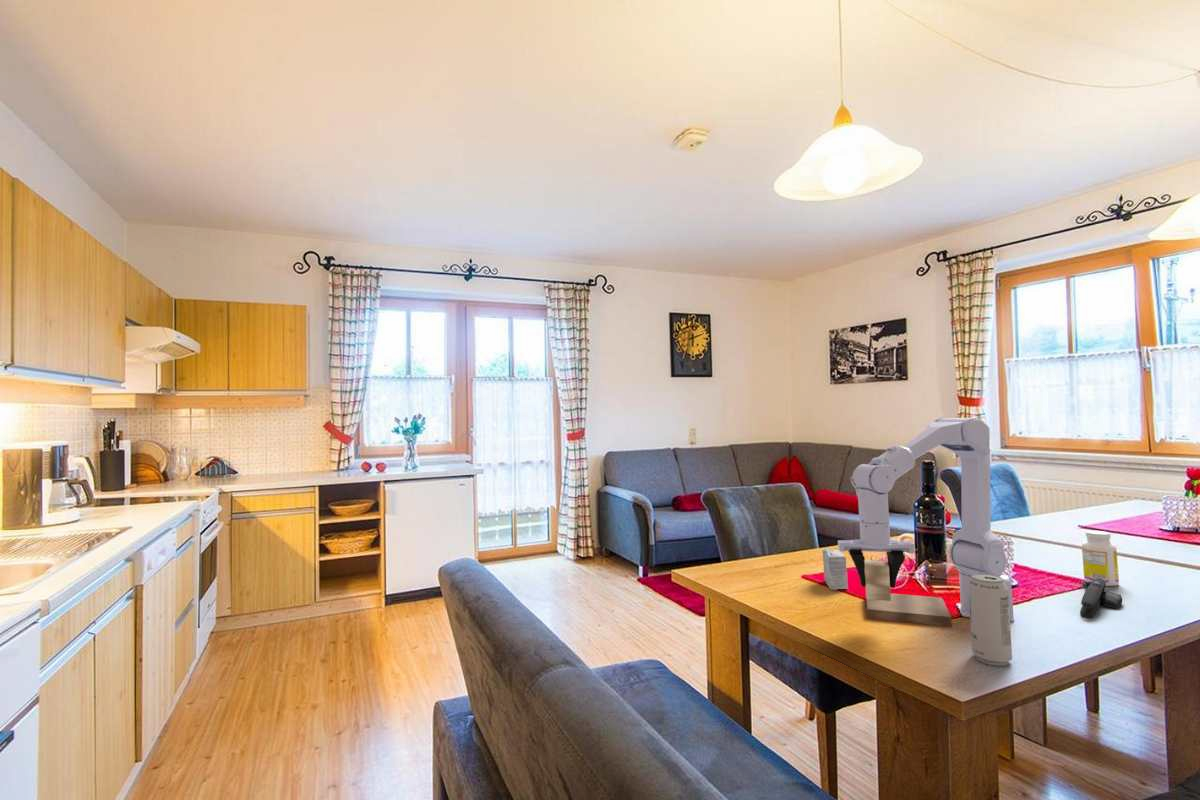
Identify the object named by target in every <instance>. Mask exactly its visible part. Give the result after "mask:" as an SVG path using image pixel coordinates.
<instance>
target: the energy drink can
mask: <svg viewBox="0 0 1200 800" xmlns="http://www.w3.org/2000/svg"><path fill="white" fill-rule="evenodd" d="M1003 580H1004V579H1003V578H1002V577H999V576H996V575H991V574H973V575H972V579H971V581H970V582H969V584H968V588H969V606H970V617H969V619H970V623H969V624H970V639H971V652H972V654H973V655H974V656H975V659H976V660H977V661H980V662H981V663H983V664H986V665H991V666H996V667H997V666H999V667H1005V666H1008V665H1009V663H1010V661H1012V660H1013V648H1012V634H1011V633H1012V632H1011V621H1010V612H1009V595H1008V588H1007V586H1006V585H1005V583H1004V582H1003Z"/></svg>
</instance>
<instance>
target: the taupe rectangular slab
mask: <svg viewBox="0 0 1200 800" xmlns="http://www.w3.org/2000/svg"><path fill="white" fill-rule="evenodd" d="M890 596H891V601H884V600H873V599H867V598H866V597H865V601H866V602H865V604H866V610H867V611H866V612H867V618H868V619H875V620H881V621H882V620H884V621H893V622H905V623H913V624H923V625H934V626H942V627H943V626H944V627H952V626H953V625H952V624H953V622H952V621H953V620H952V615H951V614H950V612H949V609H948V608H947V606H946V603H945V602H944V599H943V598H942V597H939V596H938V597H937V596H926V595H915V594H912V595H911V594H903V593H891V592H890Z"/></svg>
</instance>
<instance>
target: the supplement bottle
mask: <svg viewBox="0 0 1200 800" xmlns="http://www.w3.org/2000/svg"><path fill="white" fill-rule="evenodd" d="M1085 536H1086V538H1087V539H1086V540H1084V541H1083V542H1082V543H1081V552H1082V553H1081V554H1082V566H1083V579H1084V582H1085V581H1086V582H1089V581H1093V580H1094V579H1096V578H1100V579H1102V580H1104V581H1105V583H1106V586H1105V587H1116V586H1118V585H1119V583H1120V579H1119V564H1118V551H1117V547H1116V545H1115V544H1114V543H1113V542H1111V541H1110V540H1111V533H1110V532H1107V531H1104V530H1103V531H1101V530H1086V531H1085Z"/></svg>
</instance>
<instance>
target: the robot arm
mask: <svg viewBox="0 0 1200 800" xmlns="http://www.w3.org/2000/svg"><path fill="white" fill-rule="evenodd" d="M990 435H991V434H990V427H989V426H988V425H987V424H986V423H985V422H984V421H983V420H982V419H981V418H979V417H973V416H972V417H955V418H952V417H951V418H950V417H947V418H946V417H937V418H936V419H934V420H933V421H931V422H929V423H928V424H927V428H925V429H924V430H923V431H921V432H920V433H919V434H918V435H917V436H915V437H914V438H913V439H912V440H911V441H908V443H906V444H905V445H904V446H902V445H890V446H888V447H887V448H886V451H885V452H884V453H882V454H881V455H879V456H878V457H873V458H872V459H870V460H871V461H870V462H869V463H867V464H866V463H862V464H859V465H858V466H856V468H855V469H854V470H853V472H852V476H851V477H850V482H851V485H852V486H853V488H854V489H855V493H856V496H857V501H858V503H857V504H858V519H859V520H858V522H859V537H860V538H859V539H845V540H841V539H840V540H837V550H839V551H840V552H842V553H843V552H848V554H849V555H850V558H851V559H852V561H853V563H854V566H855V569H856V571H857V575H858V578H859V582H860V585H861V587H863V588H866V580H865V560H866V557H865V556H864V552H881V553H883V552H886V557H887V561H888V565H889V576H890V589H891V588H892V589H895V588H896V582H897V579H898V578H897V577H898V574H899V572H900V569H901V568H902V567H901V566H902V565H903V563H904V561H905V560H906V559H905V558H906V556H905V555H906V554H904V553H909V554H915V553H916V548H915V543H914V542H912V541H903V540H900V541H899V540H891V529H890V528H891V527H890V512H889V511H890V509H889V492H890V491H891V490H892V489H893V487H894V485H895V482H896V481H897V480H898V478H900V477H902V476H903V475H904V474H906V473H907V472H908V471H911V470H912V469H913V468H915V466H916V459H918V458H919V457H922V456H923V455H925V454H927V453H929V452H930V451H932V450H934V449H935V448H937V447H939V446H941V447H943V448H944V449H947V450H949V451H951V452H953V453H954V454H955V455H956V456H957V457H958V458H959V459H960V461H961V467H960V468H961V479H960V480H961V483H960V484H961V528H960V529H958V530H957V531H955V532H954V533H953V534H952V541H951V544H950V547H949V551H948V556H949V560H950V562H951V563H952V564H953V565H954V566H955V570H956V571H958V575H959V577H958V578H959V579H958V580H959V596H960V602H959V603H956V604H955V605H956V607H957V606H958V607H957V609H958V608H959V609H958V611H959V610H960V611H959V612H960V614H961V616H962V617H965V618H970V606H969V588H968V584H969V582H970V581H971V579H972V575H973V574H991V575H996V576H999V577H1002V578H1003V579H1004V580H1003V582H1004V583H1005V585H1006V586H1007V588H1008V595H1009V612H1010V622H1015V618H1014V605H1013V604H1014V603H1013V590H1012V582H1011V580H1010V577H1009V576H1008V575H1005V574H1004V572H1005V570H1006V568H1007V562H1008V561H1007V560H1008V559H1007V555H1006V552H1005V550H1004V542H1003V541H1002V539H1000V537H998V536H997V535H996V533H994V532H993V531H992V530H991V523H992V521H991V520H992V519H991V449H990V448H991V447H990V445H991V444H990Z"/></svg>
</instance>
